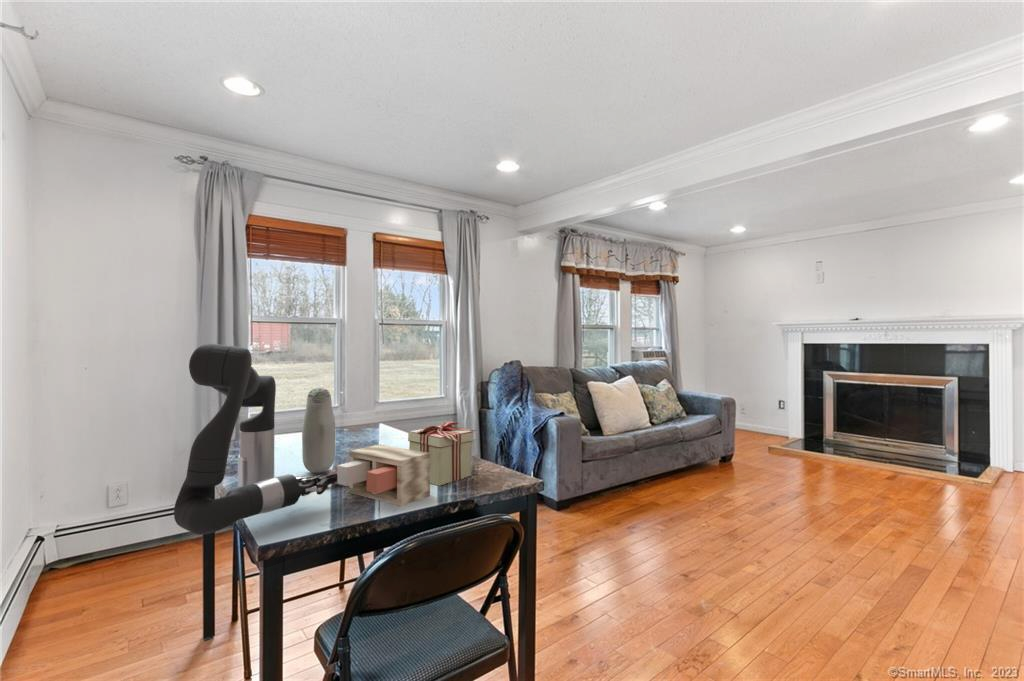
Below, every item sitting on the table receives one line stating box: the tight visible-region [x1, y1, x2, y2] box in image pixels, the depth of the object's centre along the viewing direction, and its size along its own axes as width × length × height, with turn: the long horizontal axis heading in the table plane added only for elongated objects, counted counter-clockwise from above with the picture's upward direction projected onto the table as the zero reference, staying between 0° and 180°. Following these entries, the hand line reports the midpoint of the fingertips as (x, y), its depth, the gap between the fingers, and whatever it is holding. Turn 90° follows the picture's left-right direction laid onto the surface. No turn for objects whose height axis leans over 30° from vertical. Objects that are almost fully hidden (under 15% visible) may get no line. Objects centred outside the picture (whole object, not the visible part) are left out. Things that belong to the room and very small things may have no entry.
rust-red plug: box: [367, 465, 397, 493], centre depth 130 cm, size 8×4×5 cm, turn 147°
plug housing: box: [348, 443, 431, 507], centre depth 139 cm, size 11×21×12 cm, turn 57°
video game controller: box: [328, 465, 337, 487], centre depth 149 cm, size 10×5×7 cm, turn 169°
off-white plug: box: [336, 460, 370, 487], centre depth 136 cm, size 8×4×5 cm, turn 147°
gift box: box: [407, 421, 477, 487], centre depth 157 cm, size 17×18×17 cm
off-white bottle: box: [301, 387, 336, 474], centre depth 163 cm, size 10×10×28 cm
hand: (335, 477), depth 131 cm, fingers closed
